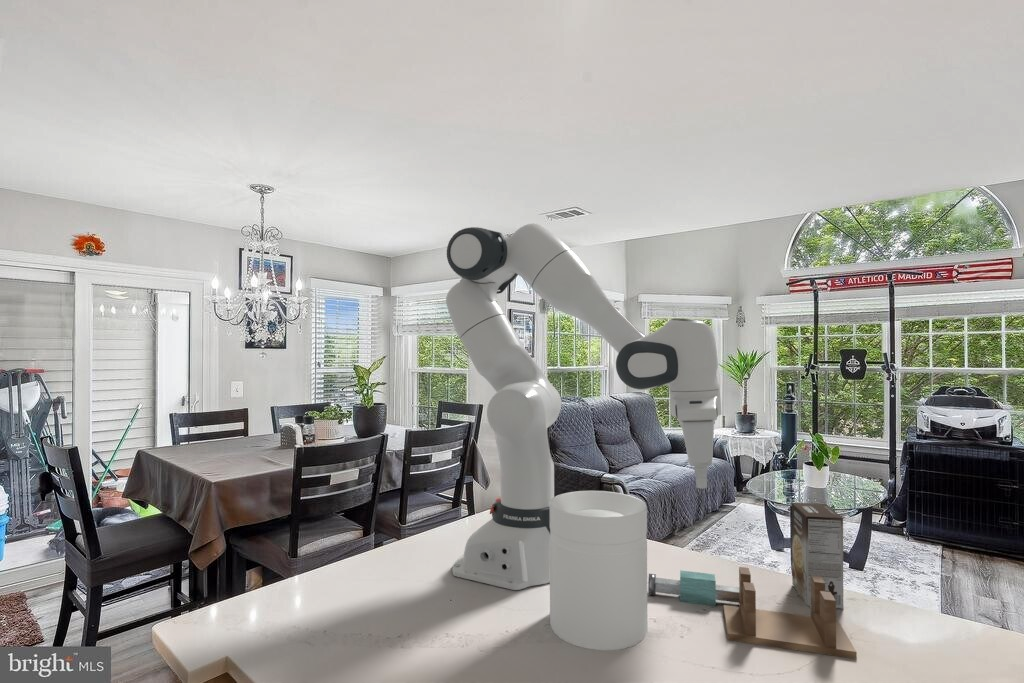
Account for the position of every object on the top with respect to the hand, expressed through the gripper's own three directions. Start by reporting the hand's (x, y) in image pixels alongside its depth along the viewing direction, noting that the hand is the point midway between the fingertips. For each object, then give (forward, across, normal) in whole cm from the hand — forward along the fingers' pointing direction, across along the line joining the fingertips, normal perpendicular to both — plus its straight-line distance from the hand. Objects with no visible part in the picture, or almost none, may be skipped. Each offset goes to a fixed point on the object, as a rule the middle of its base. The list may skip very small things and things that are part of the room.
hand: (701, 481), depth 100 cm
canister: (+20, +15, -18) cm, 31 cm away
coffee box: (+23, -7, +19) cm, 31 cm away
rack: (+22, +9, +11) cm, 26 cm away
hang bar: (+21, +1, -2) cm, 21 cm away
